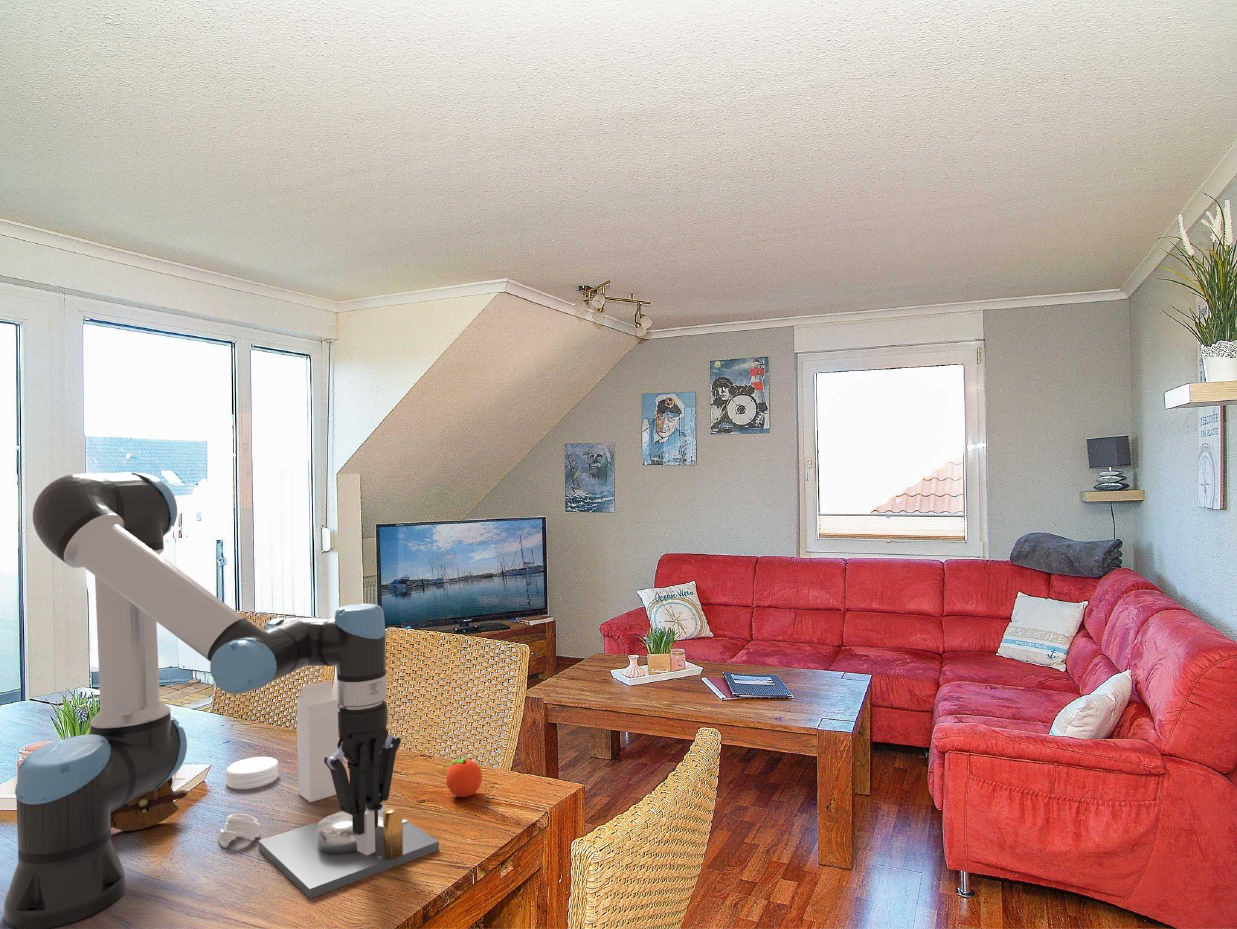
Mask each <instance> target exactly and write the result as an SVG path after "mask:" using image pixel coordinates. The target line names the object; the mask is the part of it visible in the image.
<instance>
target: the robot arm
mask: <svg viewBox="0 0 1237 929" xmlns="http://www.w3.org/2000/svg"><path fill="white" fill-rule="evenodd" d="M177 517H178V506H177V501H176V498H175V495H174V494H173V492H172V490H171V488H170V487H169V486H168V485H167V484H165V483H164V482H163V481H162V480H161V479H160V478H159V477H156V476H154V475H151V474H149V473H148V474H147V473H143V472H141V473H139V472H129V471H125V472H105V473H104V472H101V473H98V472H97V473H85V472H84V473H73V474H67V475H64V476H62V477H60V478H57V479H56V480H54V481H52V482H50V483H49V484H48V485H47V486H45V487H44V489H43V490H42V491H41V492H40V493H39V494H38V496H37V498H36V500H35V502H34V505H33V509H32V523H33V527H34V529H35V533H36V535H37V536H38V537H39V539H40V541H41V542H42V543H43V545H44V546H45V547H46V548H47V549H48V550H49V551H50V552H51V553H52V554H53V555H54V556H55V557H57V558H58V560H61V561H63V563H65V564H66V565H68V566H69V567H72V568H74V569H78V568H79V569H81V568H84V569H85V570H87V571H88V572H90V573H91V574H92V575H93V576H94V582H95V584H94V586H95V587H94V589H95V608H96V630H97V631H96V632H97V633H96V636H97V655H98V657H97V658H98V659H97V660H98V661H97V662H98V678H99V679H98V680H99V681H98V682H99V685H98V686H99V702H100V703H99V704H100V706H99V707H100V709H99V711H98V712H97V713H96V714H95V716H94V717H93V718H92V719H91V720H89V728H90V730H89V734H81V735H80V734H79V735H74V736H73V735H72V736H68V737H66V738H64V739H63V740H61V739H60V740H59V739H58V740H54V741H52V742H50V743H47V744H44V745H42V746H41V747H39V748H37V749H35V750H34V751H32V752H30V753H29V754H28V755H27V756H25V757H24V759H22V761H21V762H20V764H19V766H18V769H17V778H16V779H17V781H16V786H15V792H14V794H15V797H16V798H15V799H16V820H17V821H16V824H17V827H16V828H17V857H18V858H17V859H18V860H17V865H16V868H15V871H14V873H13V876H12V879H11V883H10V886H9V887H8V891H7V893H6V894H7V895H6V897H5V899H4V904H3V909H4V910H3V911H4V912H3V913H4V914H3V916H4V917H3V918H4V923H5V924H6V925H7V926H9V927H10V928H14V929H51V928H56V927H60V926H64V925H68V924H71V923H75V922H78V921H81V920H83V919H86V918H88V917H92V916H93V915H96V914H98V913H99V912H102V911H103V910H105V909H106V908H108V907H110V906H111V905H113V904H114V903H115V902H117V901H118V900H119V899H120V897H122V895H123V894H124V892H125V891H126V874H125V870H124V867H123V864H122V862H121V860H120V858H119V855H118V854H117V853H118V852H117V851H116V849H115V845H114V844H113V841H112V831H111V830H112V828H111V812H113V811H114V810H116V809H118V808H120V807H122V806H124V805H125V804H127V803H129V802H131V801H133V800H135V799H137V798H138V797H140V796H142V795H144V794H146V793H148V792H151V791H153V790H155V789H157V788H158V787H160V786H161V785H162V784H163V783H164V782H166V781H167V780H169V779H170V778H173V777H174V776H175V775H176V774H177V773H178V771H179V770H180V769H181V767H182V765H183V763H184V761H185V759H186V755H187V751H188V750H187V749H188V740H187V736H186V735H187V734H186V731H185V729H184V727H183V726H180V725H179V724H180V722H179V721H178V720H177V719H176V718H175V717H173V716H172V715H171V714H172V713H171V707H169V706H168V705H167V704H166V703H164V702H163V701H162V700H161V698H160V697H161V694H160V674H159V672H160V671H159V654H158V653H159V649H158V647H159V646H158V627H157V626H158V625H157V623H158V624H159V625H161V626H162V627H163V628H165V629H166V630H167V631H169V633H171V634H173V635H174V636H175V637H177V639H179V640H180V641H182V642H183V643H184V644H186V645H187V646H189V647H190V648H191V649H192V650H194V651H195V652H196V653H198V654H199V655H201V657H204V658H205V659H206V660H207V661H209V662H210V663H209V668H210V669H209V670H210V672H209V673H210V675H211V677H212V679H213V681H214V682H215V686H217V687H218V688H219V689H220V690H222V691H224V692H225V693H227V694H232V695H241V694H245V693H249V692H252V691H255V690H258V689H262V688H263V687H264V686H265V687H266V685H268V684H269V683H271V682H273V681H275V680H277V679H279V678H282V677H285V676H287V675H290V674H292V673H293V672H296V671H298V670H300V669H302V668H303V667H310V666H311V667H313V666H315V667H316V666H318V667H319V666H323V667H334V666H335V669H336V697H337V702H338V733H339V738H338V745H337V746H338V749H337V750H336V751H335V752H334V753H333V755H332V756H326V757H325V758H324V763H325V764H326V765H327V767H328V768H329V769H330V771H331V775H332V779H333V783H334V787H335V791H336V794H337V795H336V798H337V801H338V805H339V809H340V812H342V811H343V812H346V813H348V814H350V815H352V823H353V832H354V833H355V834H357V851H359V852H361V853H363V854H366V855H369V854H371V853H373V852H375V828H376V827H377V826H378V810H380V809H381V808H382V806H384V804H382V803H383V802H386V801H388V800H389V798H390V793H391V792H390V791H391V785H392V779H393V773H394V768H395V767H394V766H395V760H396V755H397V752H398V749H399V747H400V745H401V742H402V739H401V738H400V737H399V736H394V735H391V734H389V730H388V728H387V724H388V703H387V702H386V701H385V700H386V699H387V695H388V694H387V693H388V690H387V667H386V666H387V664H386V663H387V662H386V659H387V658H386V652H387V651H386V636H387V630H386V623H385V613H384V612H385V611H384V609H383V607H381V606H380V605H379V604H376V603H358V604H357V603H354V604H348V605H343V606H340V607H338V608H337V609H336V610H335V614H334V617H331V618H330V617H329V618H325V617H322V618H321V617H296V616H288V617H281V618H273V619H271V620H270V621H268V622H267V623H266V626H264V627H263V628H262V629H261V628H259V627H258V626H257V625H255V624H254V623H252V621H251V622H250V620H248V619H246V618H245V617H244V616H242V615H241V614H239V613H238V612H237V611H235V610H234V609H233V608H231V606H229V605H228V604H226V603H225V602H224V601H222V600H221V599H220V598H218V597H217V596H215V594H213V593H212V592H210V591H209V590H208V589H206V588H205V587H204V586H202V585H200V584H199V583H198V582H197V581H195V580H194V579H193V578H191V577H190V576H189V575H187V574H186V573H185V572H184V571H182V570H181V569H180V568H178V567H177V566H175V565H174V564H172V562H170V561H169V560H167V559H165V557H163V556H162V555H161V554H162V553H163V552H164V550H165V549H164V548H165V547H164V546H165V544H164V536H166V535H167V534H168V533H169V532H170V531H171V530H172V527H174V525H175V523H176V521H177V519H178V518H177ZM344 758H345V759H344ZM345 760H347V762H346V761H345ZM346 763H347V765H346V766H347V769H348V771H347V769H346V767H345V764H346ZM348 772H349V773H348ZM348 774H349V776H348Z"/></svg>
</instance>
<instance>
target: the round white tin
mask: <svg viewBox="0 0 1237 929" xmlns="http://www.w3.org/2000/svg"><path fill="white" fill-rule="evenodd" d="M279 769H280V768H279V761H278V760H277V759H276V758H274V757H271V756H254V757H250V758H249V757H248V758H245V759H241V760H238V761H235V762H233V763H231V764H230V765H229V766H228V767H227V768H226V770H225V774H226V776H225V778H226V785H227V787H229V789H233V790H252V789H256V788H261V787H265V786H267V785H270V784H271V783H274V782H275V781H276V780H277V779H278V778H279V776H280V774H279Z"/></svg>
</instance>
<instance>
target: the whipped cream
mask: <svg viewBox="0 0 1237 929" xmlns="http://www.w3.org/2000/svg"><path fill="white" fill-rule="evenodd" d="M260 826H261V825H260V823H259V822H258V819H257V818H256V817H254V816H252V815H250V814H245V813H233V814H229V815H228V816H227V817H226V821H225V826H224V828H221V829H220V830H219V832H218V835H219V836H218V837H219V838H218V843H219V845H220V846H221V847H222V848H223V849H226V848H228V847H229V844H230V843H231V842H232V841H234V840H237V838H241V839H246V840H249V841H251V842H253V841H255V840H256V838H257V839H258V838H259V837H260V834H259V833H261V830H260Z"/></svg>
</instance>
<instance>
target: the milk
mask: <svg viewBox="0 0 1237 929" xmlns="http://www.w3.org/2000/svg"><path fill="white" fill-rule="evenodd" d="M332 685H333V684H332V681H330V680H328V681H323V682H319V683H314V684H309V685H308V684H307V685H303V686H302V687H301V694H300V696H299V697H298V698H297V699H296V733H297V734H296V735H297V736H296V737H297V746H296V747H297V789H298V795H299V796H301V797H302V798H303V799H305V801H306V800H307V801H308V803H313V802H317V801H320V800H323V799H327V798H329V797H333V796H337V794H336V791H335V787H334V783H333V779H332V775H331V771H330V769H329V768H328V767H327V765H326V764H325V763H324V758H325V757H326V756H332V755H333V753H334V752H335V751H336V750H337V749H338V746H337V745H338V741H339V729H338V708H339V704H338V702H337V694H335V692H334V690H333V688H332V687H333V686H332Z"/></svg>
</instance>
